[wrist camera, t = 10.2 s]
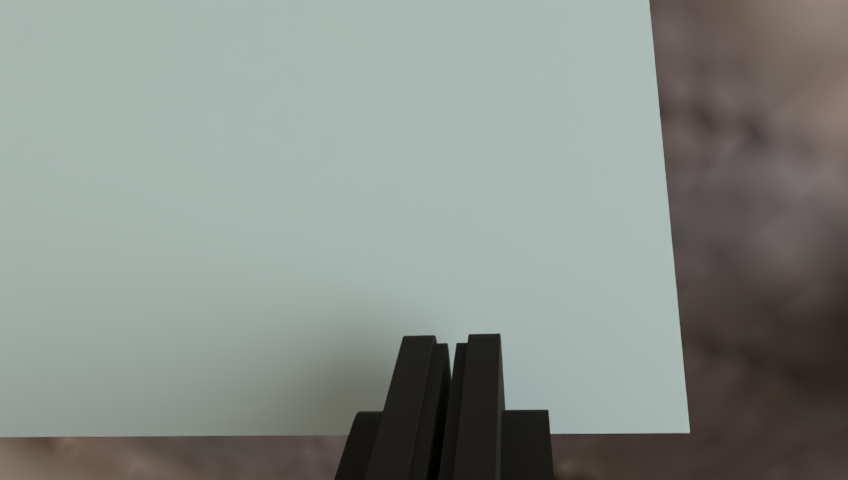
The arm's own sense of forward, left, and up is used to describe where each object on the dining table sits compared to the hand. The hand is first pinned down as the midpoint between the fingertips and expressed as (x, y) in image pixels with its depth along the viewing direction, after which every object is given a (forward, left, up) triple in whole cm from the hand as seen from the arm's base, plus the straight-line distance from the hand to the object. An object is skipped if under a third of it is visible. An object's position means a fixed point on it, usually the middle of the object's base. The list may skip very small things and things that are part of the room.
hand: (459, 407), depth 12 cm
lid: (+6, -3, -5) cm, 8 cm away
